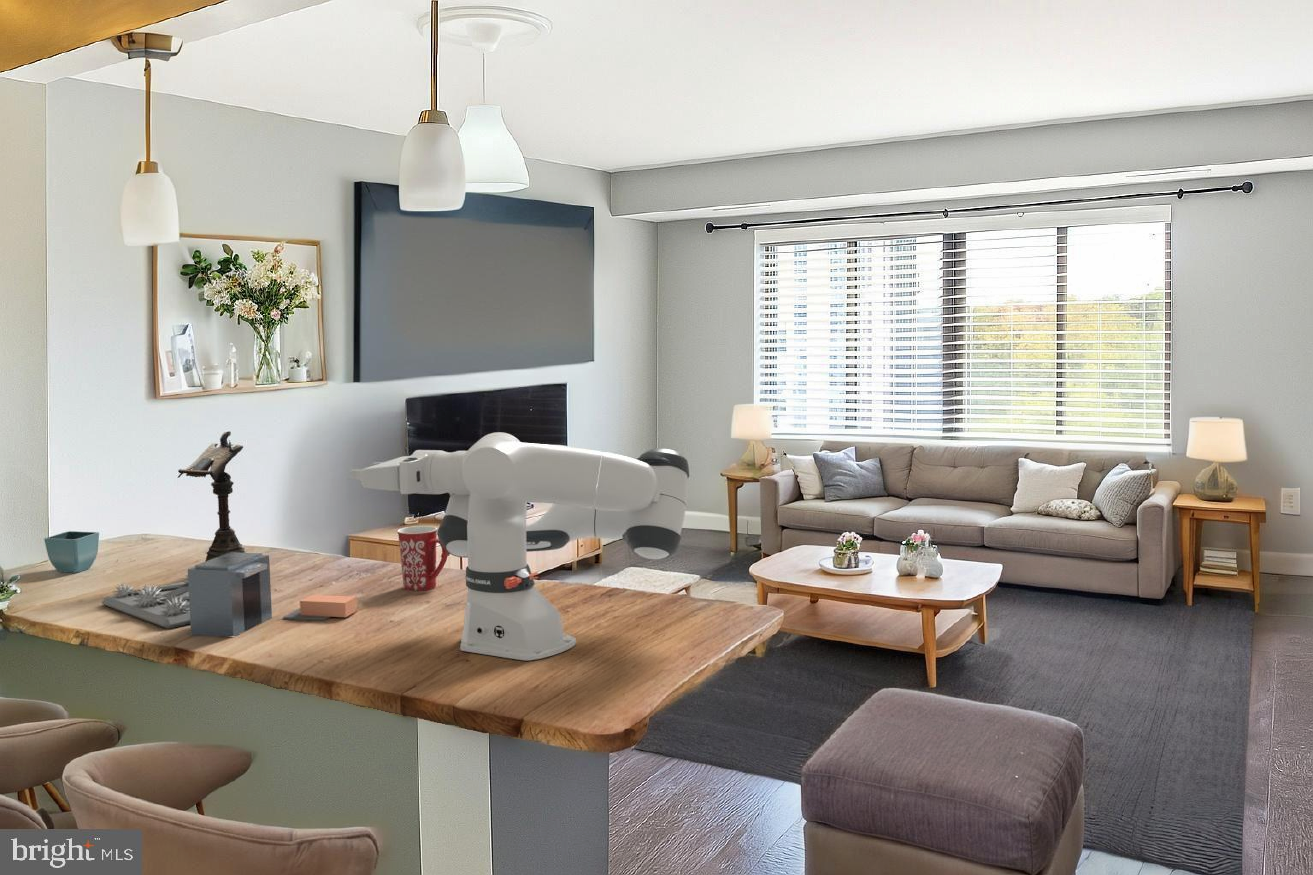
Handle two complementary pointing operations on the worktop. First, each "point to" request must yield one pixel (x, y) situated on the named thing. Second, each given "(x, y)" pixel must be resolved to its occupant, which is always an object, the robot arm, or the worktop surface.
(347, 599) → the tall salmon pillar
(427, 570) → the mug
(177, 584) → the spiky succulent planter
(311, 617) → the coaster
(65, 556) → the flower pot
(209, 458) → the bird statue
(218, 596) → the dispenser
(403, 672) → the worktop surface
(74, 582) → the worktop surface
